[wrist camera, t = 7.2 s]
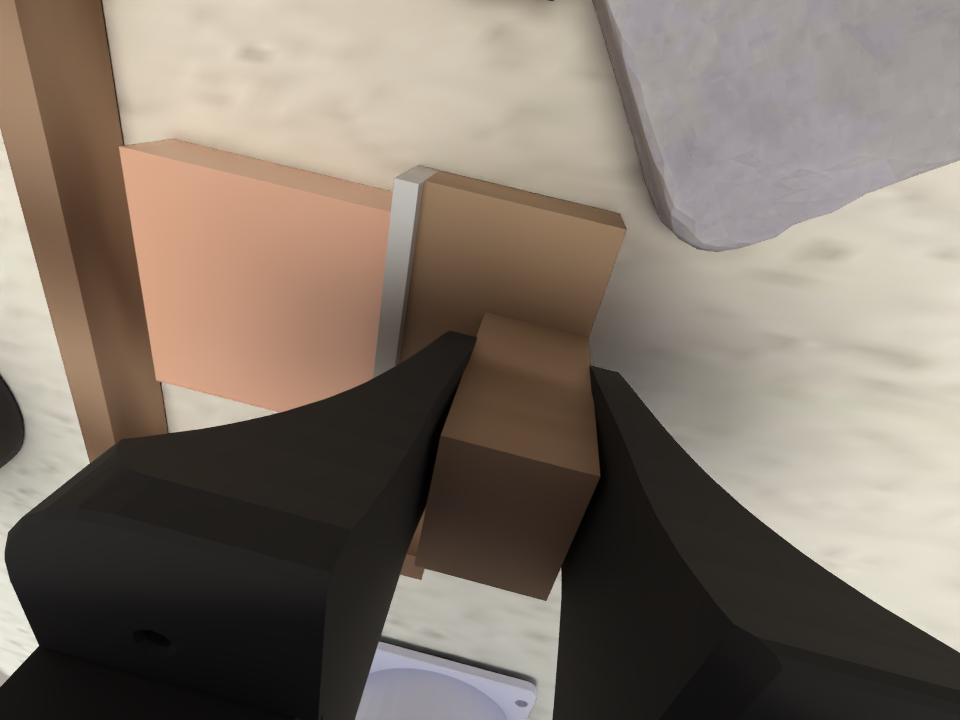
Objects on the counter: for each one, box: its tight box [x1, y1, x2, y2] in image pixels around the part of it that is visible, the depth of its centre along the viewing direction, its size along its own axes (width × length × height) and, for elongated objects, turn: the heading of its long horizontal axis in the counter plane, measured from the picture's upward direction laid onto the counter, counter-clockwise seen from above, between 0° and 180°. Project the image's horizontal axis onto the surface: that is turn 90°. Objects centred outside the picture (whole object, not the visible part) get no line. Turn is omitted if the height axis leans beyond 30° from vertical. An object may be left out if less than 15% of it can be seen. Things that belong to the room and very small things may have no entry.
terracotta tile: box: [119, 139, 393, 412], centre depth 13 cm, size 6×6×2 cm
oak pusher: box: [373, 166, 627, 601], centre depth 11 cm, size 8×5×6 cm, turn 169°
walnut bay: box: [0, 0, 554, 580], centre depth 12 cm, size 16×10×2 cm, turn 169°
